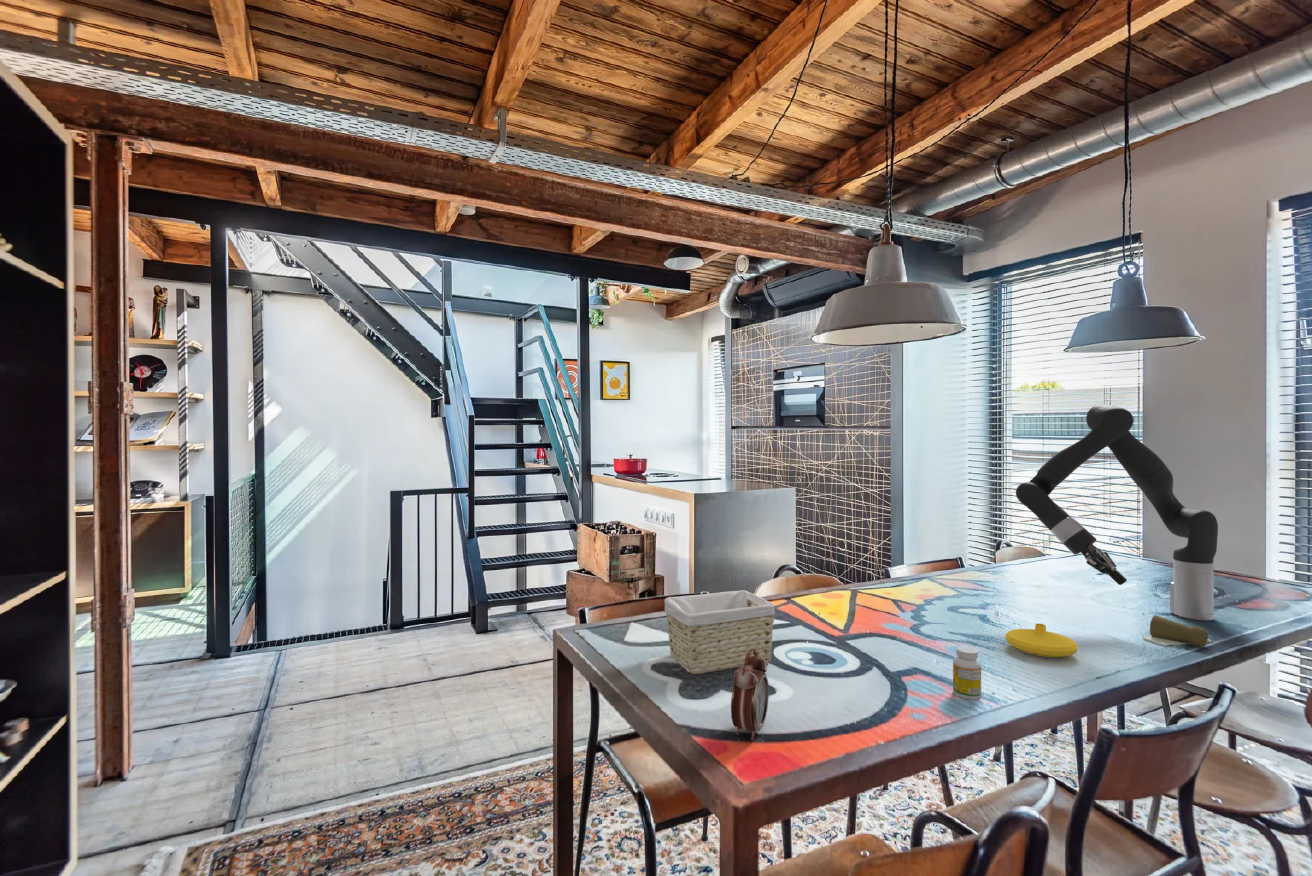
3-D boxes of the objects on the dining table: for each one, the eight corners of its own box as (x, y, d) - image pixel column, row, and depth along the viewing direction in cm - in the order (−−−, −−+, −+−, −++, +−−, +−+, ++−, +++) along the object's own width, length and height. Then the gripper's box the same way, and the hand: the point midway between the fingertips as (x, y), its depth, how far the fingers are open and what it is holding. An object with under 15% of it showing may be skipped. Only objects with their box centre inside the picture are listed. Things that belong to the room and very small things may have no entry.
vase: (1066, 645, 157) (1066, 619, 157) (1088, 667, 142) (1088, 637, 142) (998, 639, 162) (998, 613, 162) (1013, 659, 147) (1013, 631, 147)
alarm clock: (754, 747, 104) (754, 662, 104) (728, 741, 106) (728, 658, 106) (769, 721, 114) (769, 643, 114) (745, 716, 116) (745, 639, 116)
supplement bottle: (978, 702, 122) (978, 656, 122) (950, 695, 126) (950, 650, 126) (983, 694, 126) (983, 649, 126) (956, 687, 130) (956, 643, 130)
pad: (1142, 639, 162) (1142, 637, 162) (1189, 635, 165) (1189, 633, 165) (1163, 646, 156) (1164, 644, 156) (1212, 642, 159) (1212, 640, 159)
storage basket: (686, 678, 135) (686, 613, 135) (661, 654, 150) (662, 596, 150) (778, 665, 143) (778, 604, 143) (745, 643, 158) (745, 588, 158)
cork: (1154, 639, 164) (1207, 653, 155) (1148, 633, 161) (1201, 647, 152) (1159, 619, 166) (1212, 631, 156) (1153, 612, 163) (1205, 624, 153)
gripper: (1076, 529, 173) (1129, 579, 163) (1090, 525, 181) (1141, 571, 172) (1055, 545, 177) (1105, 594, 168) (1070, 540, 185) (1119, 586, 176)
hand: (1123, 583), depth 170 cm, fingers closed
